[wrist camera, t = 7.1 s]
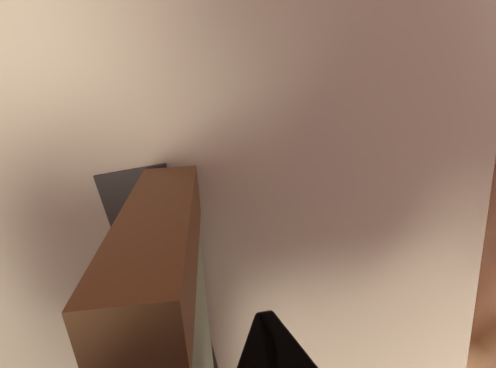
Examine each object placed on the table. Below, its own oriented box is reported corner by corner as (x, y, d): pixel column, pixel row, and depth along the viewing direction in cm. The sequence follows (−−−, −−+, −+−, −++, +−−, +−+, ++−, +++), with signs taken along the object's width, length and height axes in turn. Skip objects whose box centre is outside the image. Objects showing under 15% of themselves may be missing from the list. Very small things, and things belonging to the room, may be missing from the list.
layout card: (-26, 517, 14) (-33, 532, 14) (-455, 12, 7) (-502, 9, 7) (452, 413, 15) (460, 424, 15) (521, -127, 8) (540, -137, 8)
